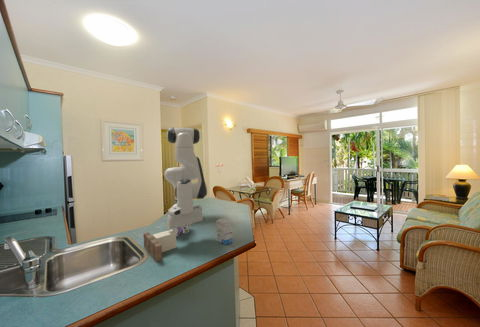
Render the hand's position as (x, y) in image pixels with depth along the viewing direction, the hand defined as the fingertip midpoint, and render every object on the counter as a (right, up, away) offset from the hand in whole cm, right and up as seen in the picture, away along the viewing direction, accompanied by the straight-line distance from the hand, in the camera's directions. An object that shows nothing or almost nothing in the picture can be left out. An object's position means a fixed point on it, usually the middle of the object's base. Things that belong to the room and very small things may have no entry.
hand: (185, 232), depth 109 cm
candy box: (-9, -5, +13) cm, 17 cm away
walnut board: (-14, -6, -12) cm, 19 cm away
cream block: (-9, -6, -8) cm, 13 cm away
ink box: (+22, -5, -1) cm, 22 cm away
